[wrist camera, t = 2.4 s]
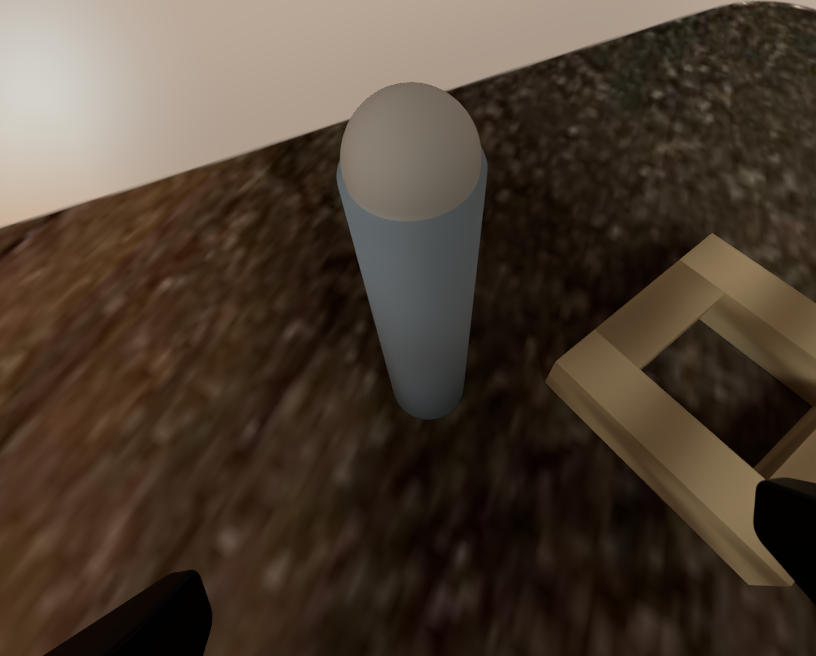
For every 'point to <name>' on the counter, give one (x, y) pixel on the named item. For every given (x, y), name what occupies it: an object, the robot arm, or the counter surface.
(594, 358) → the wooden square frame
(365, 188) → the blue-grey cylinder
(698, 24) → the counter surface
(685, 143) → the counter surface
